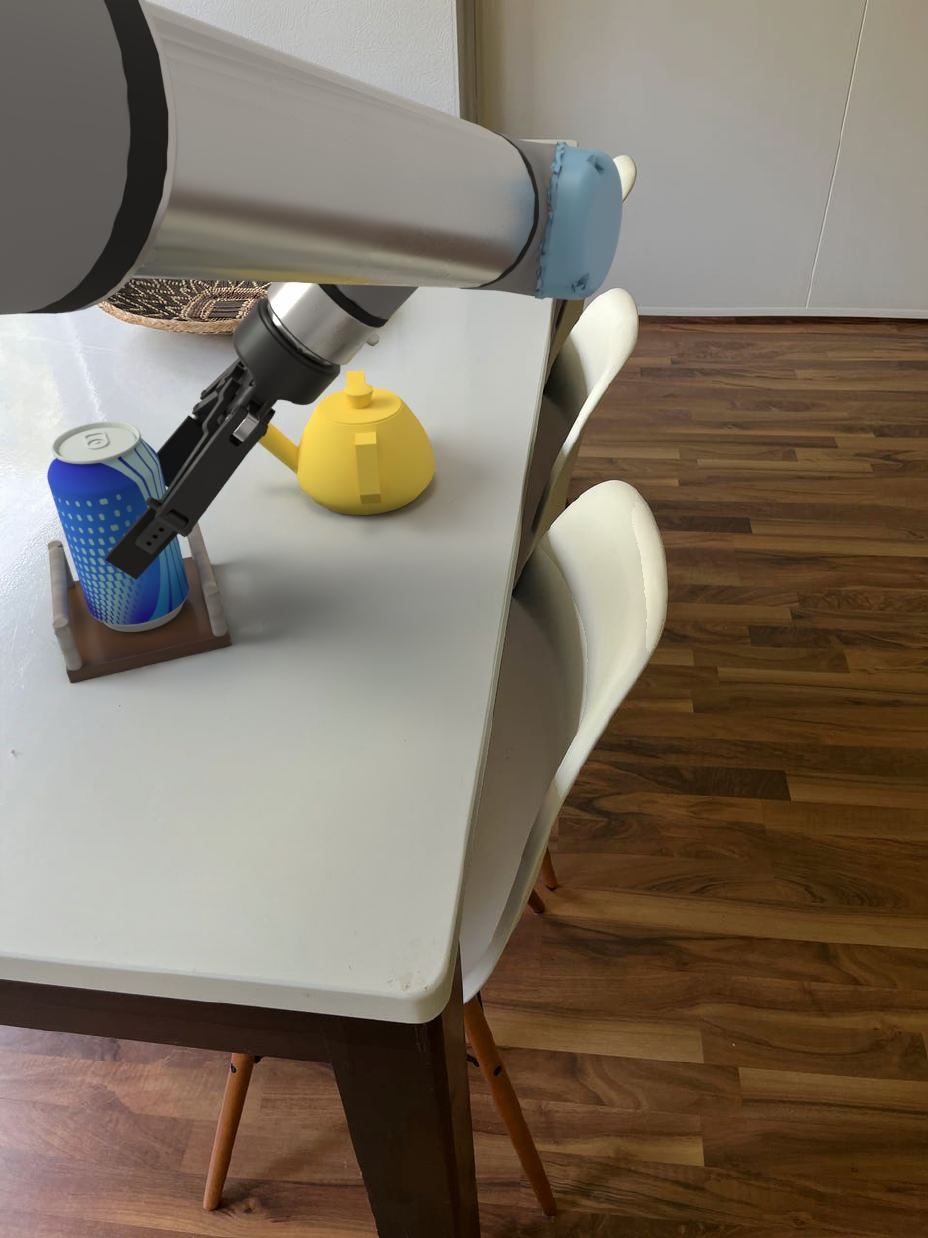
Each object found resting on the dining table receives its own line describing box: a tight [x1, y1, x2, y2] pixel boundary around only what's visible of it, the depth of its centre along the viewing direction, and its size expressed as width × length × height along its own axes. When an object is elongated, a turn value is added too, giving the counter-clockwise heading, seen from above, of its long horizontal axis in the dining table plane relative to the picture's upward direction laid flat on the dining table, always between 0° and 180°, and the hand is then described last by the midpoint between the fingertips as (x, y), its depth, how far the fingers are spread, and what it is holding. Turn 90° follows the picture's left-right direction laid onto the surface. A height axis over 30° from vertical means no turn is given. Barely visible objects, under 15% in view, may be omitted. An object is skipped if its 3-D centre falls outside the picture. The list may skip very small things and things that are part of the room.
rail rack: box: [46, 521, 233, 684], centre depth 84 cm, size 13×13×6 cm
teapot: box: [257, 370, 436, 516], centre depth 100 cm, size 20×18×11 cm
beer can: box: [46, 420, 189, 632], centre depth 80 cm, size 8×8×16 cm
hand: (140, 519), depth 80 cm, fingers open, 13 cm apart
